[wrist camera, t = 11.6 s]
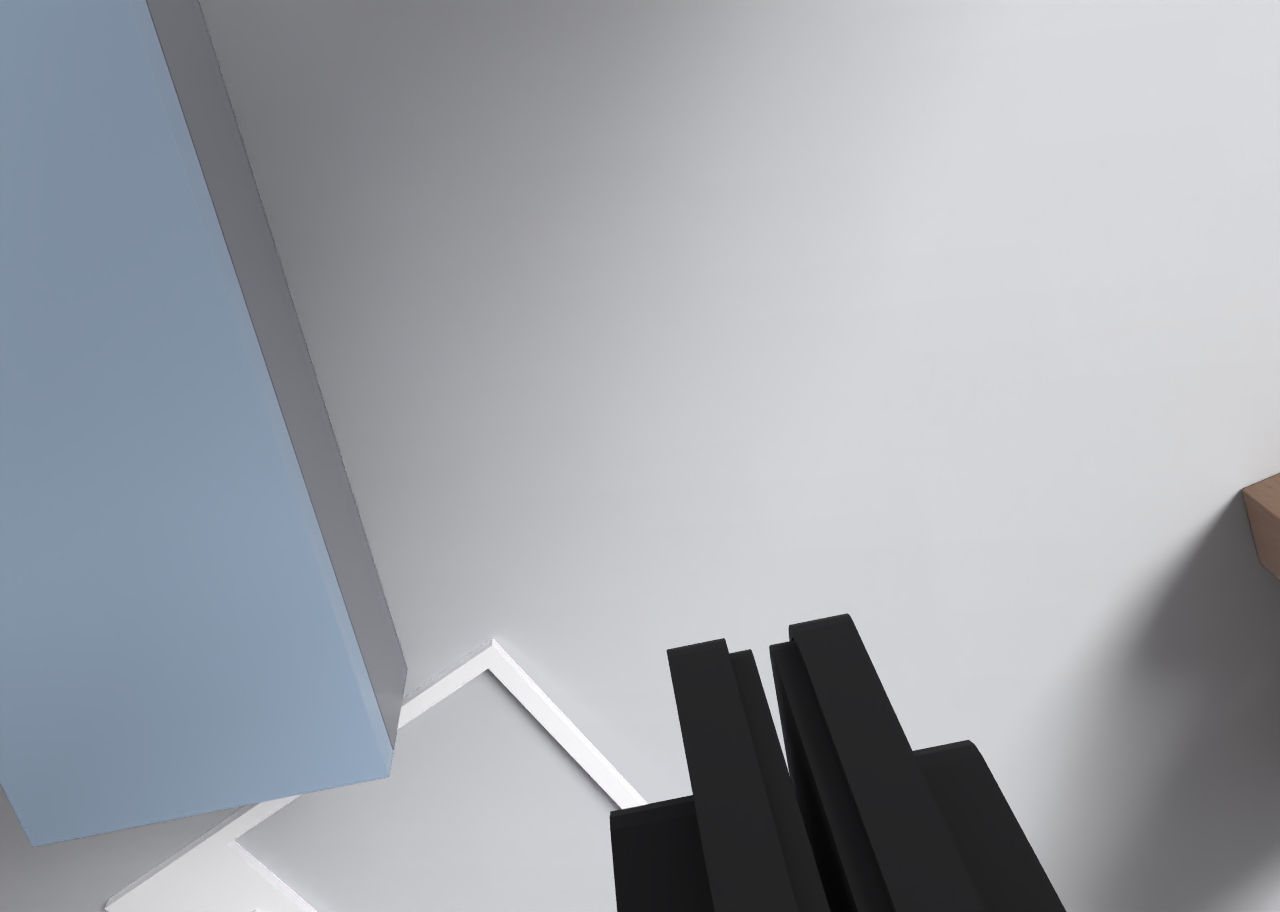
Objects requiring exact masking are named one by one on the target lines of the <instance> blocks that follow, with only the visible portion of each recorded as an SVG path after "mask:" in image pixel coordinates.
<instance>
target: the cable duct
mask: <svg viewBox="0 0 1280 912" xmlns="http://www.w3.org/2000/svg"><path fill="white" fill-rule="evenodd" d="M146 3H147V6H148V9H149V12H150V15H151V19H152V22H153V25H154V28H155V31H156V34H157V37H158V40H159V43H160V46H161V49H162V52H163V55H164V58H165V61H166V64H167V67H168V70H169V73H170V76H171V79H172V82H173V85H174V88H175V91H176V94H177V97H178V100H179V103H180V106H181V109H182V113H183V116H184V119H185V122H186V125H187V128H188V131H189V134H190V137H191V140H192V143H193V146H194V149H195V152H196V155H197V158H198V161H199V164H200V167H201V170H202V173H203V176H204V179H205V182H206V185H207V188H208V191H209V194H210V197H211V200H212V203H213V206H214V210H215V213H216V216H217V219H218V222H219V225H220V228H221V231H222V234H223V237H224V240H225V243H226V246H227V249H228V252H229V255H230V258H231V261H232V264H233V267H234V270H235V273H236V276H237V279H238V282H239V285H240V288H241V291H242V294H243V297H244V300H245V304H246V307H247V310H248V313H249V316H250V319H251V322H252V325H253V328H254V331H255V334H256V337H257V340H258V343H259V346H260V349H261V352H262V355H263V358H264V361H265V364H266V367H267V370H268V373H269V376H270V379H271V382H272V385H273V388H274V391H275V394H276V397H277V401H278V404H279V407H280V410H281V413H282V416H283V419H284V422H285V425H286V428H287V431H288V434H289V437H290V440H291V443H292V446H293V449H294V452H295V455H296V458H297V461H298V464H299V467H300V470H301V473H302V476H303V479H304V482H305V485H306V488H307V491H308V495H309V498H310V501H311V504H312V507H313V510H314V513H315V516H316V519H317V522H318V525H319V528H320V531H321V534H322V537H323V540H324V543H325V546H326V549H327V552H328V555H329V558H330V561H331V564H332V567H333V570H334V573H335V576H336V579H337V582H338V585H339V588H340V592H341V595H342V598H343V601H344V604H345V607H346V610H347V613H348V616H349V619H350V622H351V625H352V628H353V631H354V634H355V637H356V640H357V643H358V646H359V649H360V652H361V655H362V658H363V661H364V664H365V667H366V670H367V673H368V676H369V679H370V682H371V686H372V689H373V692H374V695H375V698H376V701H377V704H378V707H379V710H380V713H381V716H382V719H383V722H384V725H385V728H386V731H387V734H388V737H389V740H390V743H391V746H392V749H393V750H394V746H395V740H396V734H397V728H398V722H399V717H400V711H401V705H402V699H403V693H404V687H405V681H406V675H407V666H406V663H405V660H404V656H403V653H402V650H401V647H400V644H399V640H398V637H397V634H396V631H395V628H394V624H393V621H392V618H391V615H390V612H389V608H388V605H387V602H386V599H385V596H384V593H383V589H382V586H381V583H380V580H379V577H378V573H377V570H376V567H375V564H374V561H373V557H372V554H371V551H370V548H369V545H368V541H367V538H366V535H365V532H364V529H363V525H362V522H361V519H360V516H359V513H358V509H357V506H356V503H355V500H354V497H353V493H352V490H351V487H350V484H349V481H348V477H347V474H346V471H345V468H344V465H343V461H342V458H341V455H340V452H339V449H338V446H337V442H336V439H335V436H334V433H333V430H332V426H331V423H330V420H329V417H328V414H327V410H326V407H325V404H324V401H323V398H322V394H321V391H320V388H319V385H318V382H317V378H316V375H315V372H314V369H313V366H312V362H311V359H310V356H309V353H308V350H307V346H306V343H305V340H304V337H303V334H302V330H301V327H300V324H299V321H298V318H297V314H296V311H295V308H294V305H293V302H292V299H291V295H290V292H289V289H288V286H287V283H286V279H285V276H284V273H283V270H282V267H281V263H280V260H279V257H278V254H277V251H276V247H275V244H274V241H273V238H272V235H271V231H270V228H269V225H268V222H267V219H266V215H265V212H264V209H263V206H262V203H261V199H260V196H259V193H258V190H257V187H256V183H255V180H254V177H253V174H252V171H251V168H250V164H249V161H248V158H247V155H246V152H245V148H244V145H243V142H242V139H241V136H240V132H239V129H238V126H237V123H236V120H235V116H234V113H233V110H232V107H231V104H230V100H229V97H228V94H227V91H226V88H225V84H224V81H223V78H222V75H221V72H220V68H219V65H218V62H217V59H216V56H215V52H214V49H213V46H212V43H211V40H210V36H209V33H208V30H207V27H206V24H205V21H204V17H203V14H202V11H201V8H200V5H199V1H198V0H146Z"/></svg>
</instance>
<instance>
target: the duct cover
mask: <svg viewBox="0 0 1280 912" xmlns="http://www.w3.org/2000/svg"><path fill="white" fill-rule="evenodd" d="M392 758H393V749H392V746H391V743H390V740H389V737H388V734H387V731H386V728H385V725H384V722H383V719H382V716H381V713H380V710H379V707H378V704H377V701H376V698H375V695H374V692H373V689H372V686H371V682H370V679H369V676H368V673H367V670H366V667H365V664H364V661H363V658H362V655H361V652H360V649H359V646H358V643H357V640H356V637H355V634H354V631H353V628H352V625H351V622H350V619H349V616H348V613H347V610H346V607H345V604H344V601H343V598H342V595H341V592H340V588H339V585H338V582H337V579H336V576H335V573H334V570H333V567H332V564H331V561H330V558H329V555H328V552H327V549H326V546H325V543H324V540H323V537H322V534H321V531H320V528H319V525H318V522H317V519H316V516H315V513H314V510H313V507H312V504H311V501H310V498H309V495H308V491H307V488H306V485H305V482H304V479H303V476H302V473H301V470H300V467H299V464H298V461H297V458H296V455H295V452H294V449H293V446H292V443H291V440H290V437H289V434H288V431H287V428H286V425H285V422H284V419H283V416H282V413H281V410H280V407H279V404H278V401H277V397H276V394H275V391H274V388H273V385H272V382H271V379H270V376H269V373H268V370H267V367H266V364H265V361H264V358H263V355H262V352H261V349H260V346H259V343H258V340H257V337H256V334H255V331H254V328H253V325H252V322H251V319H250V316H249V313H248V310H247V307H246V304H245V300H244V297H243V294H242V291H241V288H240V285H239V282H238V279H237V276H236V273H235V270H234V267H233V264H232V261H231V258H230V255H229V252H228V249H227V246H226V243H225V240H224V237H223V234H222V231H221V228H220V225H219V222H218V219H217V216H216V213H215V210H214V206H213V203H212V200H211V197H210V194H209V191H208V188H207V185H206V182H205V179H204V176H203V173H202V170H201V167H200V164H199V161H198V158H197V155H196V152H195V149H194V146H193V143H192V140H191V137H190V134H189V131H188V128H187V125H186V122H185V119H184V116H183V113H182V109H181V106H180V103H179V100H178V97H177V94H176V91H175V88H174V85H173V82H172V79H171V76H170V73H169V70H168V67H167V64H166V61H165V58H164V55H163V52H162V49H161V46H160V43H159V40H158V37H157V34H156V31H155V28H154V25H153V22H152V19H151V15H150V12H149V9H148V6H147V3H146V0H0V784H1V786H2V788H3V790H4V792H5V794H6V796H7V798H8V800H9V802H10V804H11V806H12V808H13V810H14V812H15V814H16V816H17V818H18V820H19V822H20V824H21V826H22V828H23V830H24V832H25V834H26V836H27V838H28V840H29V842H30V844H31V846H32V847H37V846H42V845H47V844H52V843H57V842H62V841H67V840H72V839H77V838H82V837H87V836H93V835H98V834H103V833H108V832H113V831H118V830H123V829H128V828H133V827H138V826H143V825H148V824H153V823H158V822H163V821H169V820H174V819H179V818H184V817H189V816H194V815H199V814H204V813H209V812H214V811H219V810H224V809H229V808H234V807H239V806H245V805H250V804H255V803H260V802H265V801H270V800H275V799H280V798H285V797H290V796H295V795H300V794H305V793H310V792H315V791H321V790H326V789H331V788H336V787H341V786H346V785H351V784H356V783H361V782H366V781H371V780H376V779H381V778H386V777H389V775H390V769H391V763H392Z"/></svg>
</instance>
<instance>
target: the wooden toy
mask: <svg viewBox="0 0 1280 912" xmlns="http://www.w3.org/2000/svg"><path fill="white" fill-rule="evenodd" d="M1242 492H1243V497H1244V501H1245V506H1246V510H1247V514H1248V518H1249V522H1250V526H1251V530H1252V534H1253V538H1254V542H1255V546H1256V549H1257V553H1258V557H1259V561H1260V563H1261V564H1262V565H1263V566H1264V567H1265V568H1267V569H1268V570H1269V571H1270V572H1271V573H1272V574H1273V575H1274V576H1276V577H1277V578H1278V579H1279V580H1280V474H1277V475H1275V476H1272V477H1270V478H1268V479H1265V480H1263V481H1261V482H1258V483H1256V484H1253V485H1251V486H1249V487H1246V488H1244V489H1242Z"/></svg>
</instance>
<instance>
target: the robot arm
mask: <svg viewBox="0 0 1280 912" xmlns="http://www.w3.org/2000/svg"><path fill="white" fill-rule="evenodd" d="M789 639H790V641H789V642H784V643H779V644H774V645H770V647H769V649H770V658H771V664H772V670H773V677H774V683H775V689H776V695H777V701H778V707H779V713H780V719H781V725H782V731H783V738H784V744H785V750H786V756H787V762H788V768H789V772H788V769H787V766H786V762H785V759H784V756H783V753H782V749H781V746H780V743H779V739H778V736H777V733H776V729H775V726H774V723H773V719H772V716H771V713H770V709H769V706H768V703H767V699H766V696H765V693H764V689H763V686H762V683H761V679H760V676H759V673H758V669H757V666H756V663H755V659H754V656H753V653H752V650H751V649H749V650H745V651H740V652H735V653H730V654H729V651H728V648H727V644H726V641H725V639H724V638H723V639H718V640H713V641H708V642H703V643H698V644H693V645H688V646H683V647H678V648H673V649H668V650H667V655H668V661H669V666H670V672H671V677H672V683H673V688H674V694H675V699H676V704H677V710H678V715H679V721H680V726H681V732H682V737H683V743H684V748H685V754H686V759H687V764H688V770H689V775H690V781H691V786H692V792H693V795H691V796H686V797H681V798H676V799H671V800H666V801H661V802H656V803H651V804H646V805H641V806H636V807H631V808H626V809H621V810H616V811H611V812H610V831H611V843H612V854H613V866H614V878H615V890H616V901H617V912H1066V910H1065V908H1064V906H1063V905H1062V903H1061V901H1060V899H1059V897H1058V895H1057V894H1056V892H1055V890H1054V888H1053V886H1052V884H1051V882H1050V881H1049V879H1048V877H1047V875H1046V873H1045V871H1044V869H1043V868H1042V866H1041V864H1040V862H1039V860H1038V858H1037V856H1036V855H1035V853H1034V851H1033V849H1032V847H1031V845H1030V843H1029V842H1028V840H1027V838H1026V836H1025V834H1024V832H1023V831H1022V829H1021V827H1020V825H1019V823H1018V821H1017V819H1016V818H1015V816H1014V814H1013V812H1012V810H1011V808H1010V806H1009V805H1008V803H1007V801H1006V799H1005V797H1004V795H1003V793H1002V792H1001V790H1000V788H999V786H998V784H997V782H996V780H995V779H994V777H993V775H992V773H991V771H990V769H989V768H988V766H987V764H986V762H985V760H984V758H983V756H982V755H981V753H980V752H979V750H978V749H977V747H976V746H975V744H974V743H972V742H971V741H969V740H965V741H960V742H955V743H950V744H945V745H940V746H935V747H930V748H925V749H921V750H916V751H912V749H911V747H910V745H909V742H908V740H907V738H906V736H905V734H904V731H903V729H902V727H901V725H900V723H899V721H898V718H897V716H896V714H895V712H894V710H893V707H892V705H891V703H890V701H889V699H888V697H887V694H886V692H885V690H884V688H883V686H882V683H881V681H880V679H879V677H878V675H877V673H876V670H875V668H874V666H873V664H872V662H871V659H870V657H869V655H868V653H867V651H866V649H865V646H864V644H863V642H862V640H861V638H860V635H859V633H858V631H857V629H856V627H855V625H854V622H853V620H852V619H851V617H850V615H849V614H842V615H837V616H832V617H827V618H822V619H817V620H812V621H807V622H802V623H797V624H792V625H789ZM789 774H790V776H789Z"/></svg>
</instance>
